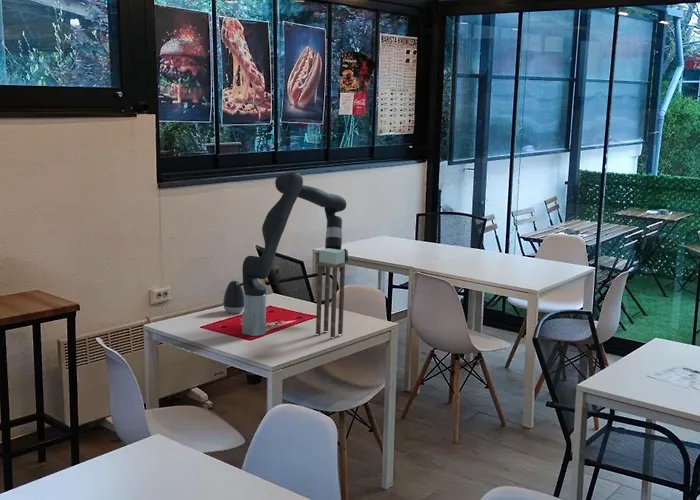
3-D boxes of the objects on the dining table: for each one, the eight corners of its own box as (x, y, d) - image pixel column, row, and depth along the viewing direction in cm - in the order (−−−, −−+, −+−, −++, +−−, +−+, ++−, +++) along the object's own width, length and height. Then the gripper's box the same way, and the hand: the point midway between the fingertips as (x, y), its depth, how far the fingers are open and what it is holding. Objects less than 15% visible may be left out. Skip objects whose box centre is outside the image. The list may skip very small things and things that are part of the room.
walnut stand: (332, 339, 332) (335, 264, 327) (315, 335, 337) (318, 261, 331) (342, 335, 338) (345, 262, 332) (325, 331, 343) (327, 259, 337)
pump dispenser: (247, 314, 367) (248, 282, 364) (225, 315, 363) (226, 283, 360) (242, 309, 376) (242, 278, 373) (220, 310, 372) (221, 278, 369)
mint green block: (335, 264, 327) (335, 252, 326) (307, 259, 335) (307, 248, 334) (356, 259, 339) (356, 248, 339) (328, 255, 348) (328, 244, 347)
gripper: (316, 237, 365) (314, 270, 360) (345, 235, 360) (343, 269, 355) (322, 241, 371) (320, 275, 367) (350, 239, 367) (349, 273, 362)
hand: (332, 272), depth 361 cm, fingers open, 8 cm apart
